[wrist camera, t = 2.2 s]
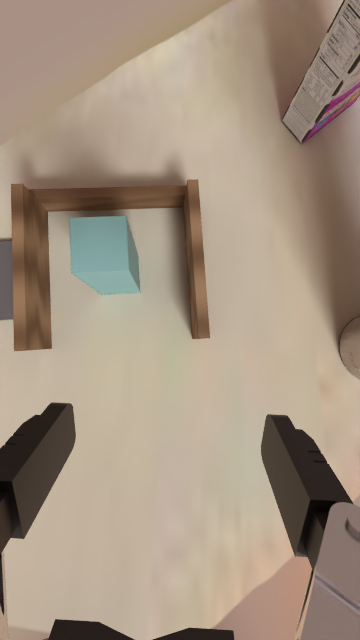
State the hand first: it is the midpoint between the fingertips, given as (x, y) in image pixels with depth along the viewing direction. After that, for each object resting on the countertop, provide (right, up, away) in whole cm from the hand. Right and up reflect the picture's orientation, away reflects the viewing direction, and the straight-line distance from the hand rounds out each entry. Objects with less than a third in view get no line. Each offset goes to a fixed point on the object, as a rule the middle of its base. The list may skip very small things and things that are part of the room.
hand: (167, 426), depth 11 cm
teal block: (-7, +10, +23) cm, 26 cm away
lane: (-7, +10, +23) cm, 26 cm away
